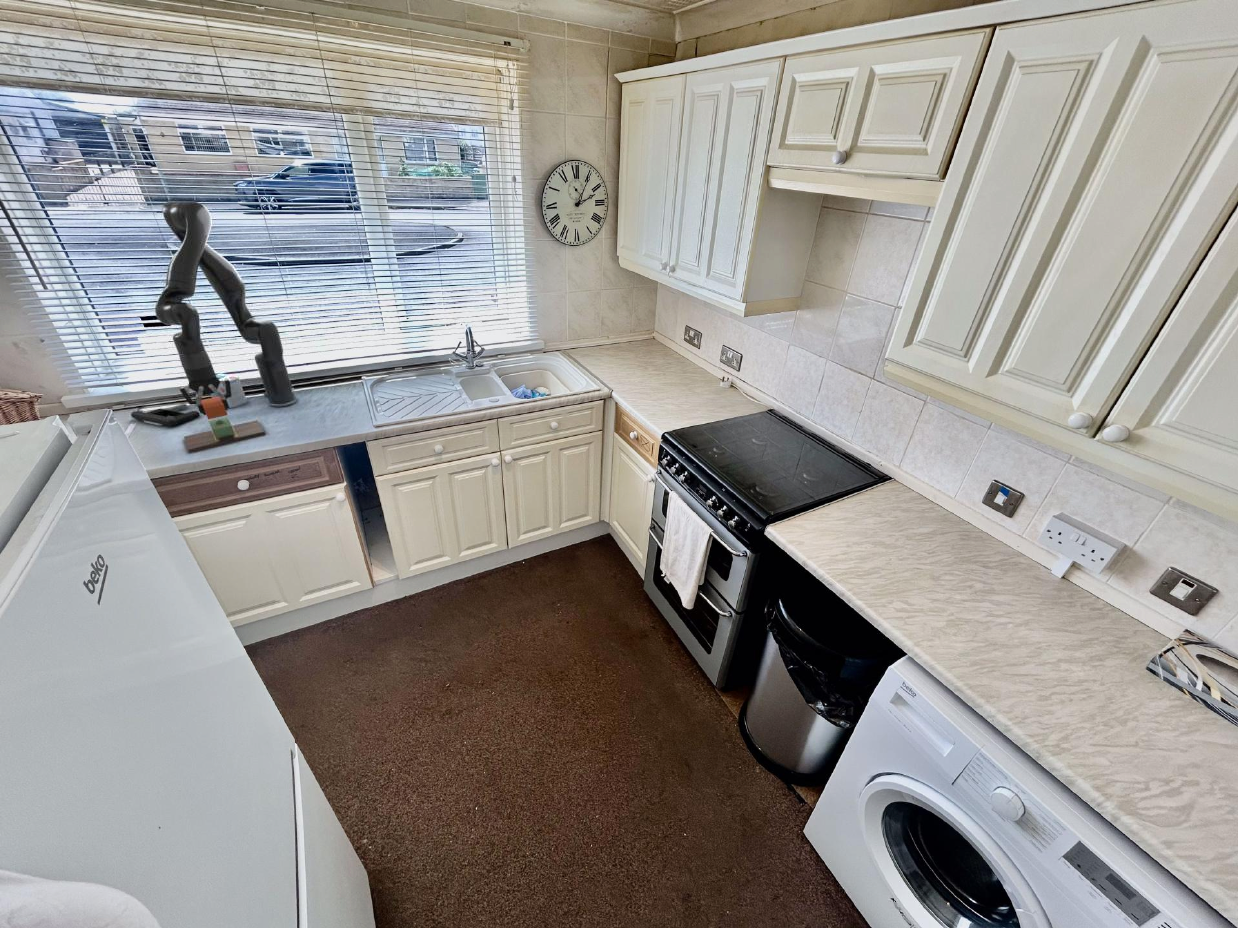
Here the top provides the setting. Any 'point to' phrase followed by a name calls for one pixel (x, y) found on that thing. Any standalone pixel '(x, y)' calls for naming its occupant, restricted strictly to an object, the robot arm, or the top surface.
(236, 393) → the light bulb box
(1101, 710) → the top surface
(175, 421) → the black rectangular frame
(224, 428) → the green block with hole
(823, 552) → the top surface
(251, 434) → the jig board
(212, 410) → the orange block
